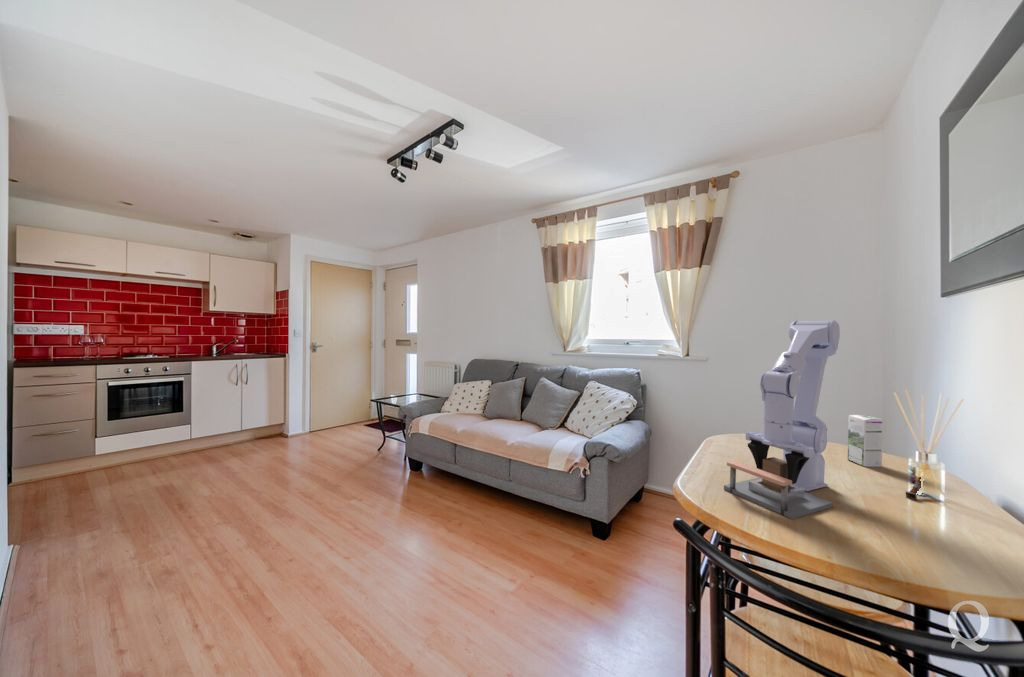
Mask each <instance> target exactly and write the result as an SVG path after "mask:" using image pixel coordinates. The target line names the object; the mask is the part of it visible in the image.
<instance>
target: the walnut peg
mask: <svg viewBox="0 0 1024 677" xmlns="http://www.w3.org/2000/svg"><path fill="white" fill-rule="evenodd" d="M762 470H763V471H766V472H769V473H772V474H775V475H778V476H780V477H783V478H786V479H787V475H788V468H787V461H785V460H783V459H781V458H779V457H778V458H777V457H774V456H771V457H767V458H766V459H763V469H762ZM762 485H764V486H767V487H770V488H772V489H775V490H777V491H780V492H781V485H778V484H776V483H773V482H770V481H768V480H765V479H762ZM788 490H790V485H788Z"/></svg>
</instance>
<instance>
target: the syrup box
mask: <svg viewBox="0 0 1024 677" xmlns="http://www.w3.org/2000/svg"><path fill="white" fill-rule="evenodd" d="M847 422H848V424H847V426H848V429H847V431H848V432H847V461H849V460H850V461H849V462H851V461H853V462H852V463H854V462H855V463H854V464H856V463H857V464H856V465H859V466H862V467H867V468H881V467H882V466H883V434H884V433H883V431H884V430H883V428H884V419H882V418H878V417H874V416H868V415H864V414H849V415H848V421H847ZM882 468H883V467H882Z"/></svg>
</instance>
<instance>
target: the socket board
mask: <svg viewBox="0 0 1024 677" xmlns="http://www.w3.org/2000/svg"><path fill="white" fill-rule="evenodd" d="M726 466H727V467H729V468H730V471H729V483H728V484H724V485H723V490H725V491H727V492H730V493H731V494H734V495H736V496H739V497H741V498H743V499H745V500H748V501H749V502H752V503H754V504H756V505H758V506H759V505H760V506H761V507H764V508H766V509H768V510H770V511H773V512H775V513H777V514H780V515H781V516H784V517H786V518H788V519H791V520H794V519H798V518H801V517H804V516H807V515H808V516H809V515H811V514H814V513H817V512H821V511H824V510H828V509H830V508H833V507H834V502H832V501H830V500H827V499H825V498H822V497H819V496H817V495H814V494H810V493H808V492H806V491H805V489H802V488H799V487H797V486H794V485H791V484H792V480H789V479H786V478H783V477H780V476H778V475H775V474H772V473H769V472H766V471H763V470H760V469H758V468H757V467H755V466H751V465H748V464H745V463H743V462H740V461H737V460H732V461H727V462H726ZM737 470H738V471H741V472H744V473H746V474H749V475H752V476H755V477H756V478H750V479H746V480H742V481H738V482H737V479H736V478H737V477H736V476H737ZM762 479H765V480H768V481H770V482H773V483H776V484H778V485H781V492H780V491H777V490H775V489H772V488H770V487H767V486H764V485H762ZM788 485H790V490H788Z"/></svg>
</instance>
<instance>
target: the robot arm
mask: <svg viewBox="0 0 1024 677" xmlns="http://www.w3.org/2000/svg"><path fill="white" fill-rule="evenodd" d="M840 334H841V331H840V325H839V323H838V322H837V321H836V320H812V321H811V320H804V321H803V320H800V321H799V320H794V321H792V322H791V323H790V325H789V328H788V336H789V339H790V345H789V347H788V349H787V351H784V352H782V353H781V354H780V355H778V358H777V359H776V361H775V363H774V365H773V366H772V368H771V369H770V370H768V371H766V372H764V373H763V374H762V375H761V377H760V384H759V387H760V388H759V389H760V391H761V399H762V401H763V402H764V404H763V405H764V406H763V433H759V432H754V431H746V432H745V440H746V441H749V442H748V443H747V447H748V449H749V451H750V453H751V454H752V457H753V460H754V462H755V466H756V467H755V468H758V469H760V470H762V469H763V459H766V458H768V454H769V449H770V447H774V448H776V449H780V450H782V460H785V461H787V468H788V475H787V479H789V480H792V484H791V485H794V486H797V487H799V488H802V489H805V492H811V491H814V490H818V489H821V488H825V487H828V486H829V483H826V482H825V471H826V470H825V469H826V468H825V466H826V462H825V461H826V460H825V458H824V456H823V455H822V453H824V452H825V450H826V449H827V448H826V447H827V445H828V444H827V443H828V427H827V425H826V423H825V422H824V421H823V420H822V419H821V418H819V417H818V416H816V415H817V411H818V405H819V399H820V394H821V389H822V384H823V383H822V382H823V380H824V374H825V368H826V364H827V361H828V358H829V357H831V356H834V355H836V354H837V350H838V349H839V348H838V347H839V342H840V337H841V335H840Z"/></svg>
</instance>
